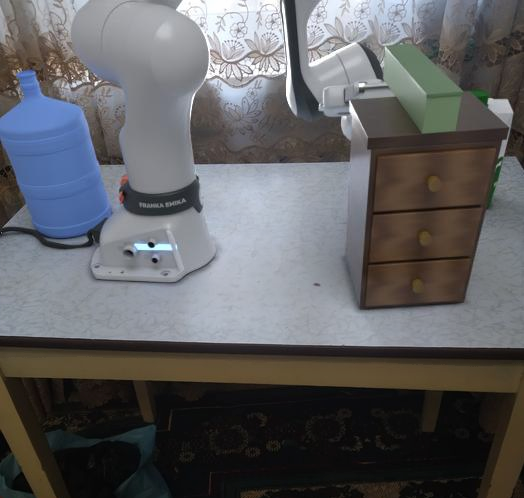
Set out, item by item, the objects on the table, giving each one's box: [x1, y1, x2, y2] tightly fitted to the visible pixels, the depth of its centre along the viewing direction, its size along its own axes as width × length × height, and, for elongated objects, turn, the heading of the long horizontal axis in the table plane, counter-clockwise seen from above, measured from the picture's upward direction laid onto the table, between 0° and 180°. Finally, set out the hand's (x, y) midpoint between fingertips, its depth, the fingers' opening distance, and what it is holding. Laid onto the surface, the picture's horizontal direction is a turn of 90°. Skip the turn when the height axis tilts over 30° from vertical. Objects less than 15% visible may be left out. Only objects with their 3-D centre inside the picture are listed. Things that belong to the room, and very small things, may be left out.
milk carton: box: [468, 89, 514, 210], centre depth 98 cm, size 9×9×20 cm
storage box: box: [382, 43, 464, 134], centre depth 71 cm, size 4×24×4 cm, turn 1°
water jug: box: [0, 69, 112, 239], centre depth 99 cm, size 16×16×28 cm
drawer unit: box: [345, 90, 509, 310], centre depth 77 cm, size 17×17×26 cm
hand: (389, 84), depth 85 cm, fingers open, 8 cm apart
